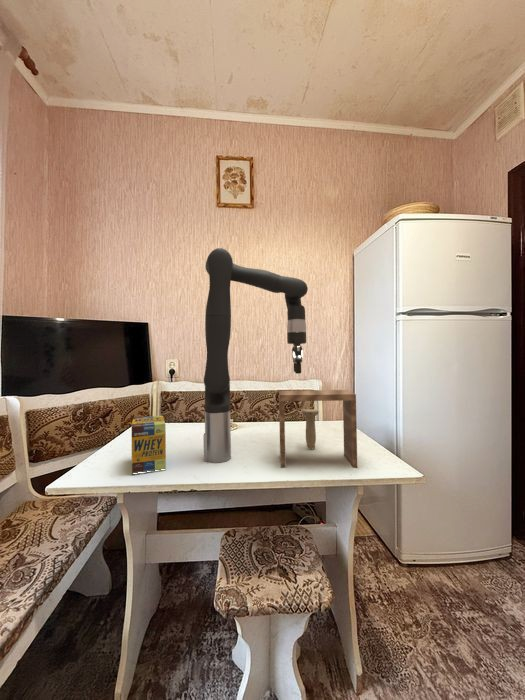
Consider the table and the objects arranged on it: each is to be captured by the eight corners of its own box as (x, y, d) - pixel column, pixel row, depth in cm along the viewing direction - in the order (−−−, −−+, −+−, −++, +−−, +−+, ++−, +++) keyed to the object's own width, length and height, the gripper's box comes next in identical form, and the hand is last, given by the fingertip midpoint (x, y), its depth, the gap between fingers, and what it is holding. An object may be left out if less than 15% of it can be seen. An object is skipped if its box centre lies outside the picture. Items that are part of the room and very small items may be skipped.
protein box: (131, 476, 93) (131, 426, 94) (133, 460, 108) (132, 417, 108) (166, 470, 97) (165, 423, 97) (163, 456, 112) (163, 414, 112)
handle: (319, 450, 115) (318, 411, 115) (302, 450, 115) (302, 411, 116) (318, 446, 119) (317, 409, 120) (302, 446, 120) (301, 409, 120)
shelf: (280, 467, 98) (279, 395, 98) (280, 455, 110) (278, 390, 110) (357, 467, 97) (355, 394, 97) (348, 455, 109) (346, 389, 109)
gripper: (286, 333, 124) (287, 371, 124) (288, 330, 110) (288, 374, 110) (304, 332, 124) (305, 371, 124) (308, 330, 110) (309, 373, 110)
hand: (297, 372), depth 117 cm, fingers open, 8 cm apart
